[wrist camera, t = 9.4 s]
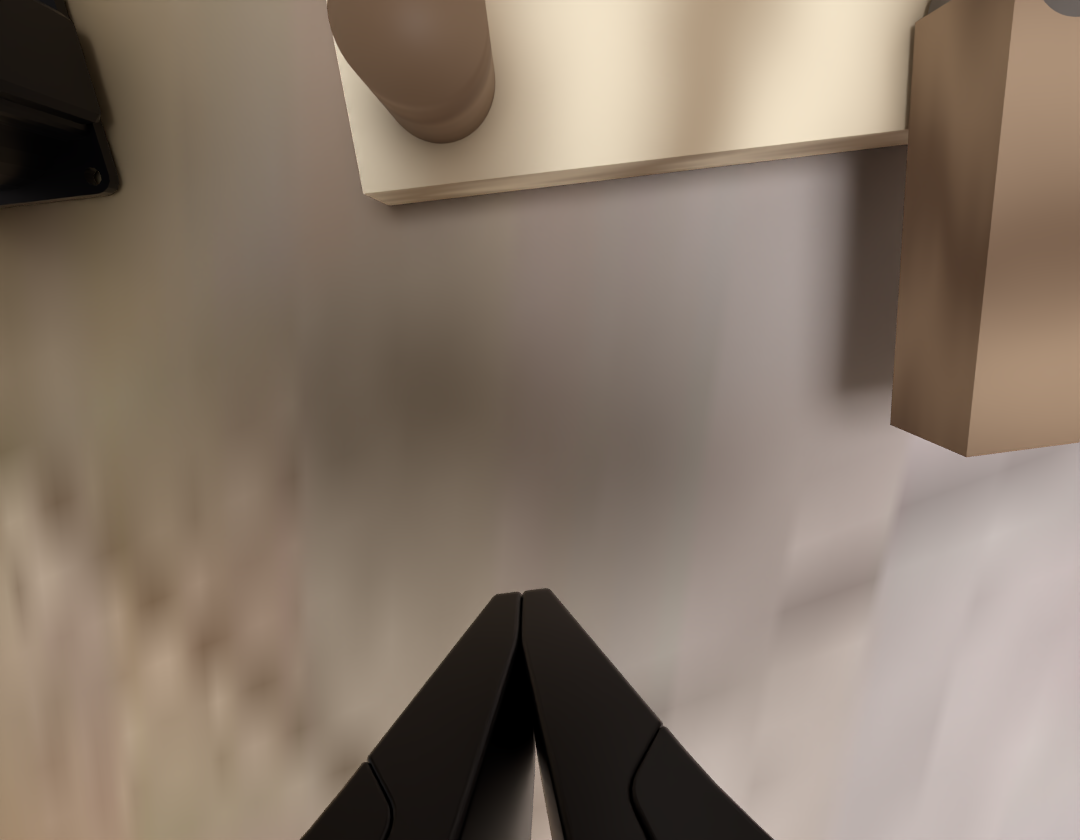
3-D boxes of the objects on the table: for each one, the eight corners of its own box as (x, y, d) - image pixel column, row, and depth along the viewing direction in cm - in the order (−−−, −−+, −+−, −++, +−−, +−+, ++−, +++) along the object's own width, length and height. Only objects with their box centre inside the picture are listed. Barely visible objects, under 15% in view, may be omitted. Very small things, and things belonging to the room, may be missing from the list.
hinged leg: (918, -33, 13) (1026, -114, 11) (1036, -49, 13) (1176, -134, 11) (890, 424, 17) (966, 457, 14) (984, 412, 17) (1079, 442, 14)
